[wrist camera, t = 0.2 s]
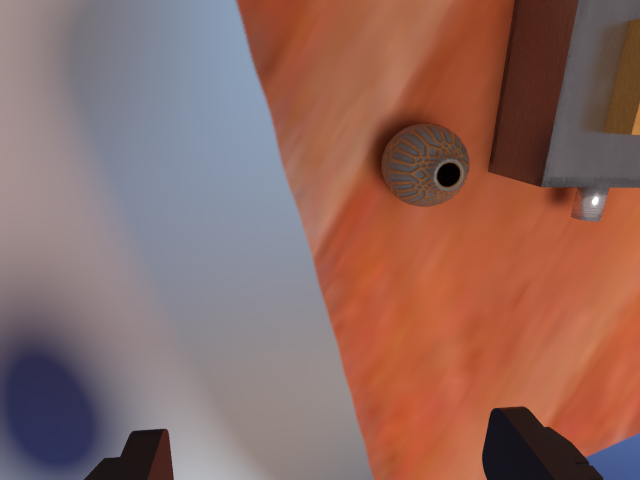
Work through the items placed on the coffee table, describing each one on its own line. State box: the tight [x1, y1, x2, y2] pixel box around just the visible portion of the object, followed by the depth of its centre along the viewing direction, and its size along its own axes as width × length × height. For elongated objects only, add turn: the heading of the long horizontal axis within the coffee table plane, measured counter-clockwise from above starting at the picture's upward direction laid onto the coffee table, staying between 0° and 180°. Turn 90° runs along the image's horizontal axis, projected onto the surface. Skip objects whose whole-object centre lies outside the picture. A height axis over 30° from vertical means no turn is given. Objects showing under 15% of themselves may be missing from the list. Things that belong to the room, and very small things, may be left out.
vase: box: [381, 123, 469, 207], centre depth 33 cm, size 7×7×9 cm
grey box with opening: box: [488, 0, 640, 221], centre depth 33 cm, size 20×16×10 cm
